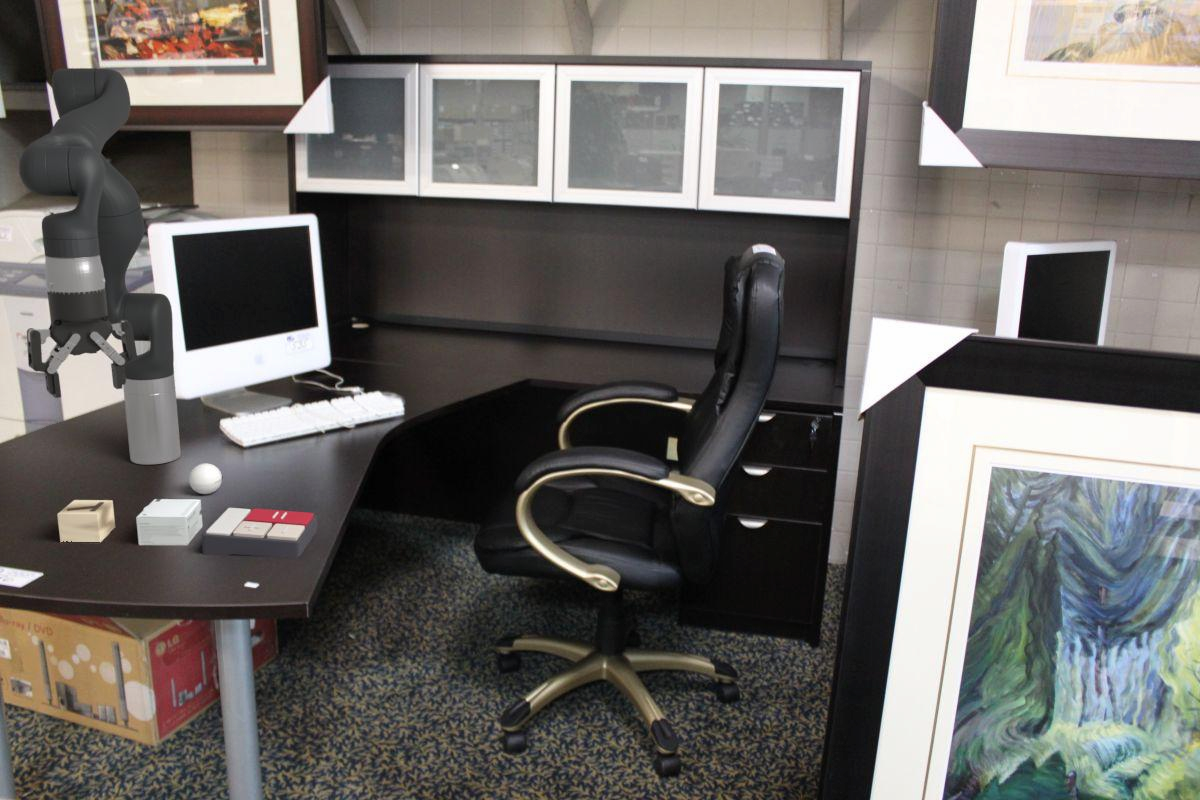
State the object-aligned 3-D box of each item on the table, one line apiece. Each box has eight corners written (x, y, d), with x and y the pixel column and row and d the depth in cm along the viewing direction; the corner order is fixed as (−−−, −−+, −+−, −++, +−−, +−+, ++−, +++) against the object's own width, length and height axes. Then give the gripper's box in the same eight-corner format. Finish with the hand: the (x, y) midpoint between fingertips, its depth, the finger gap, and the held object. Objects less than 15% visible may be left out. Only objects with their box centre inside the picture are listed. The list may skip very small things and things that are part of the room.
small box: (188, 546, 151) (185, 516, 149) (137, 546, 150) (134, 516, 149) (204, 527, 158) (201, 498, 157) (155, 526, 158) (152, 498, 156)
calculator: (299, 537, 147) (200, 530, 147) (298, 563, 149) (201, 555, 148) (318, 510, 158) (226, 503, 157) (317, 534, 159) (227, 527, 159)
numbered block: (77, 528, 156) (74, 499, 154) (115, 528, 156) (112, 499, 155) (60, 543, 150) (57, 513, 148) (100, 543, 150) (96, 513, 149)
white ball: (212, 500, 169) (210, 470, 168) (183, 496, 170) (181, 467, 169) (235, 485, 177) (233, 457, 175) (207, 482, 177) (205, 454, 176)
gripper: (119, 279, 146) (129, 380, 150) (14, 286, 136) (28, 394, 141) (136, 286, 141) (145, 390, 145) (27, 293, 131) (41, 405, 136)
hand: (87, 392), depth 143 cm, fingers open, 8 cm apart
